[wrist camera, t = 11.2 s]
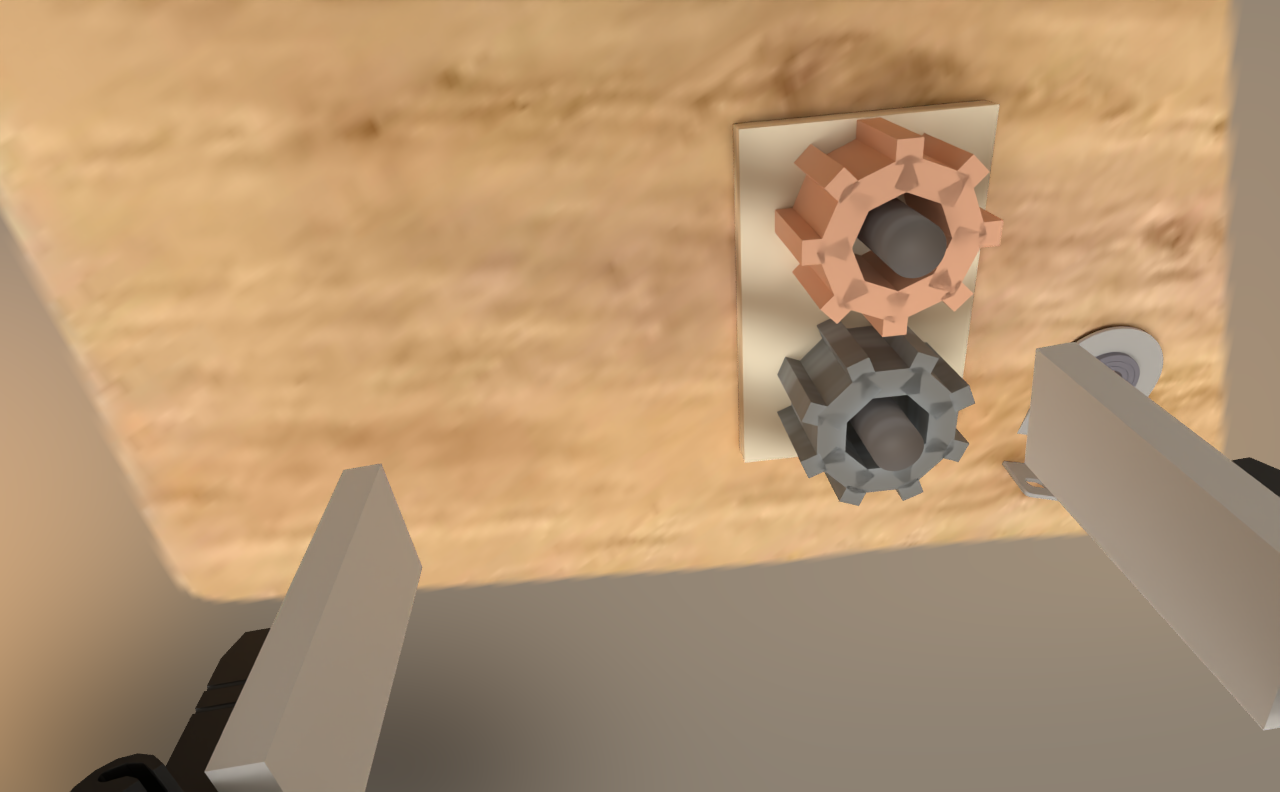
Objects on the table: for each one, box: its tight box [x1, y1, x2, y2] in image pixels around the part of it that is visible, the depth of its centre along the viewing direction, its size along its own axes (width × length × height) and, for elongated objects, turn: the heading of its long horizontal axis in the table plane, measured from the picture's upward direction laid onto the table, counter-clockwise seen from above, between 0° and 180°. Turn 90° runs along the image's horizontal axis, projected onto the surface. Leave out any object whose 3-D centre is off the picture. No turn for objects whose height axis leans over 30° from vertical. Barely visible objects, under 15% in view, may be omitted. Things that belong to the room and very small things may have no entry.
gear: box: [775, 117, 1003, 337], centre depth 35 cm, size 8×8×5 cm
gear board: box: [733, 100, 1000, 506], centre depth 37 cm, size 18×12×8 cm, turn 4°
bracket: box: [1002, 326, 1163, 501], centre depth 44 cm, size 7×10×4 cm, turn 169°
